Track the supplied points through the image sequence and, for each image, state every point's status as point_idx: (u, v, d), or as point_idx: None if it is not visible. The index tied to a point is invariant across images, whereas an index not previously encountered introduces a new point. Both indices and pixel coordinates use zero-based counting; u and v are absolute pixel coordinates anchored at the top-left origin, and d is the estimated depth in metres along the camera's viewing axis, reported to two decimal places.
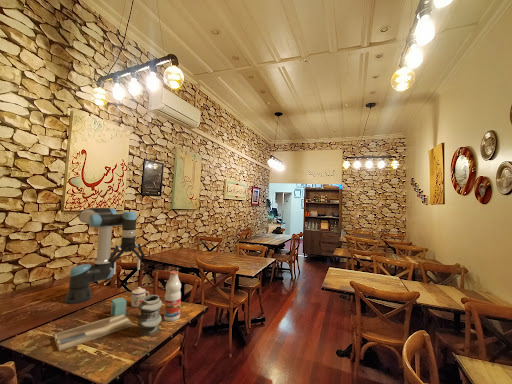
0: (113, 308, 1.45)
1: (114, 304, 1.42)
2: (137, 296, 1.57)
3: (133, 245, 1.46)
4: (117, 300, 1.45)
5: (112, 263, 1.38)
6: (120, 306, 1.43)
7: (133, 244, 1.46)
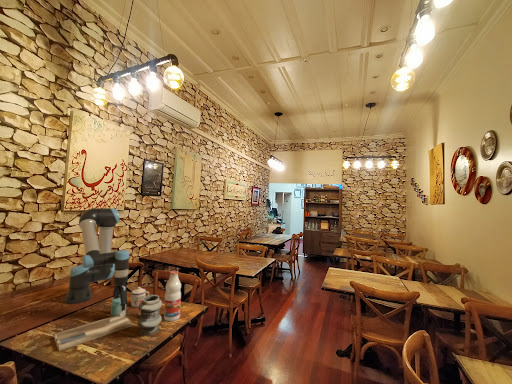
0: (113, 308, 1.45)
1: (114, 304, 1.42)
2: (137, 296, 1.57)
3: (120, 286, 1.43)
4: (117, 300, 1.45)
5: None
6: None
7: (120, 285, 1.43)
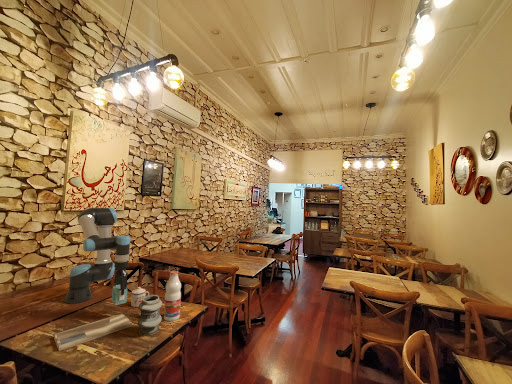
0: (114, 295, 1.46)
1: (115, 291, 1.42)
2: (137, 296, 1.57)
3: (121, 271, 1.43)
4: (118, 287, 1.46)
5: None
6: None
7: (121, 270, 1.43)
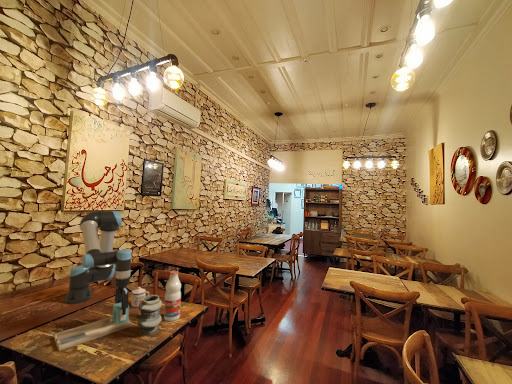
0: (115, 313, 1.35)
1: (116, 309, 1.32)
2: (137, 296, 1.57)
3: (121, 288, 1.33)
4: (119, 305, 1.35)
5: (116, 303, 1.38)
6: None
7: (122, 287, 1.33)
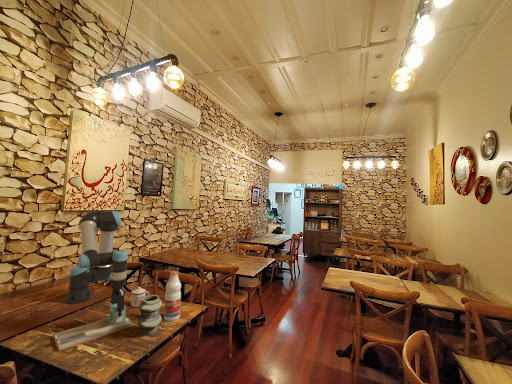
0: (111, 314, 1.34)
1: (112, 310, 1.30)
2: (137, 296, 1.57)
3: (117, 290, 1.31)
4: (115, 305, 1.33)
5: None
6: None
7: (118, 289, 1.31)
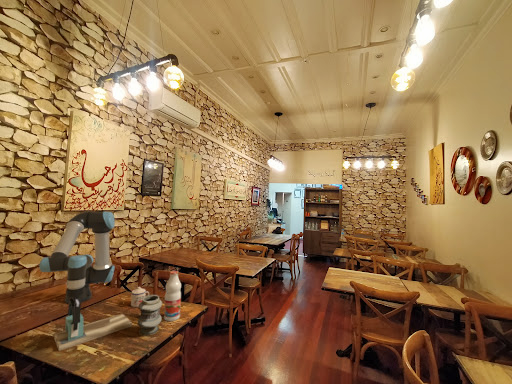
0: (68, 327, 1.19)
1: (67, 323, 1.16)
2: (137, 296, 1.57)
3: (73, 300, 1.17)
4: None
5: None
6: None
7: (73, 299, 1.16)
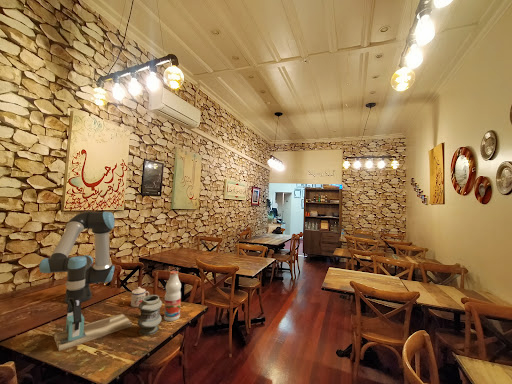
0: (68, 327, 1.19)
1: (68, 322, 1.16)
2: (137, 296, 1.57)
3: (73, 301, 1.17)
4: None
5: None
6: None
7: (73, 299, 1.17)
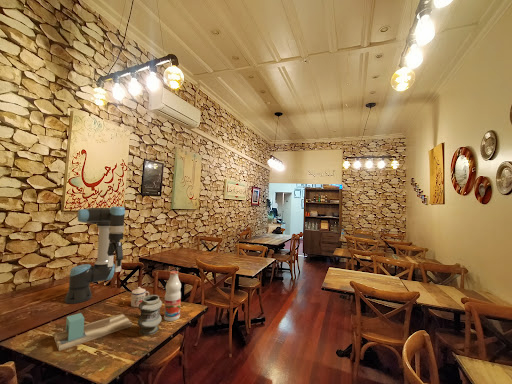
0: (68, 327, 1.19)
1: (68, 322, 1.16)
2: (137, 296, 1.57)
3: (115, 243, 1.36)
4: (73, 317, 1.19)
5: None
6: (76, 325, 1.17)
7: (115, 241, 1.36)
